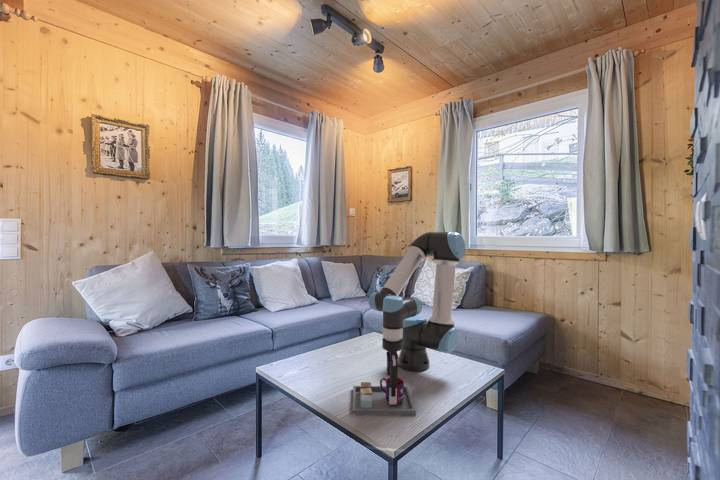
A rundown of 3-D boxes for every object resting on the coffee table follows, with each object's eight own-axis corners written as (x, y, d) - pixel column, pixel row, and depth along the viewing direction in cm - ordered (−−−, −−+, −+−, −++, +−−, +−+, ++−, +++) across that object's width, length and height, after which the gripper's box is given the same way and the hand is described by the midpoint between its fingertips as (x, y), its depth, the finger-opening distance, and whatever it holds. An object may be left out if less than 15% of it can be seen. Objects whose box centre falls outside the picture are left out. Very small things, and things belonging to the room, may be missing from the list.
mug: (395, 405, 118) (396, 387, 118) (375, 395, 125) (375, 378, 125) (407, 399, 123) (407, 381, 123) (387, 389, 130) (387, 372, 130)
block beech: (370, 398, 125) (370, 387, 125) (372, 403, 122) (372, 393, 121) (360, 399, 125) (360, 388, 125) (362, 404, 121) (362, 393, 121)
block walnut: (370, 392, 130) (370, 382, 130) (371, 397, 126) (371, 387, 126) (360, 392, 130) (360, 382, 130) (360, 397, 126) (360, 386, 126)
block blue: (372, 406, 120) (372, 395, 120) (371, 412, 116) (371, 401, 116) (361, 405, 120) (362, 394, 120) (360, 411, 116) (360, 400, 116)
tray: (407, 391, 132) (407, 385, 132) (415, 416, 114) (415, 410, 114) (353, 390, 132) (353, 385, 132) (352, 416, 114) (352, 410, 114)
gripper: (380, 329, 133) (379, 385, 133) (384, 347, 112) (383, 413, 113) (398, 329, 133) (398, 385, 133) (406, 347, 112) (405, 413, 113)
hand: (391, 398), depth 123 cm, fingers closed on mug, 7 cm apart
